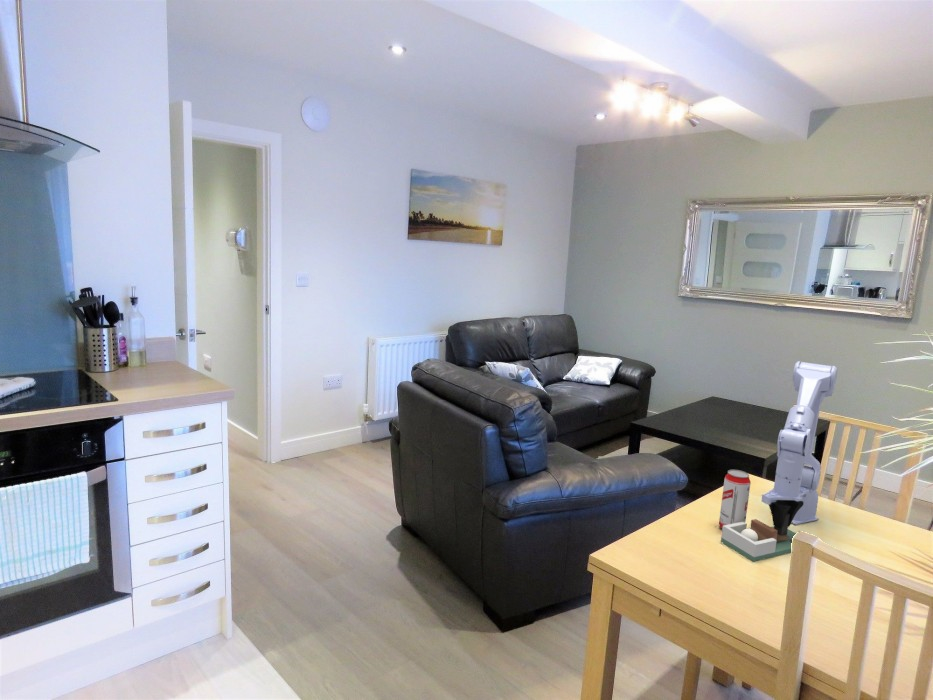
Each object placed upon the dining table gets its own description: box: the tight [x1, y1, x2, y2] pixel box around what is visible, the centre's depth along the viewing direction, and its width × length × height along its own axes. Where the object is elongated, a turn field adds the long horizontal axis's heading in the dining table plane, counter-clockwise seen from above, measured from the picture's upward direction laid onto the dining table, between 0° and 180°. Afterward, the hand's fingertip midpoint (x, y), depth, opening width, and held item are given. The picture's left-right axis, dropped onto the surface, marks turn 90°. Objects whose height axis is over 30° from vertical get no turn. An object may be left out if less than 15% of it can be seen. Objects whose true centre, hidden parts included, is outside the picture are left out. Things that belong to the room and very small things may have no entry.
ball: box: [741, 528, 758, 542], centre depth 143 cm, size 4×4×4 cm
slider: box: [749, 513, 790, 542], centre depth 146 cm, size 8×6×6 cm
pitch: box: [720, 522, 796, 562], centre depth 146 cm, size 21×10×4 cm, turn 113°
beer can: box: [718, 469, 752, 529], centre depth 152 cm, size 6×6×16 cm
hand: (781, 525), depth 147 cm, fingers closed on slider, 2 cm apart
